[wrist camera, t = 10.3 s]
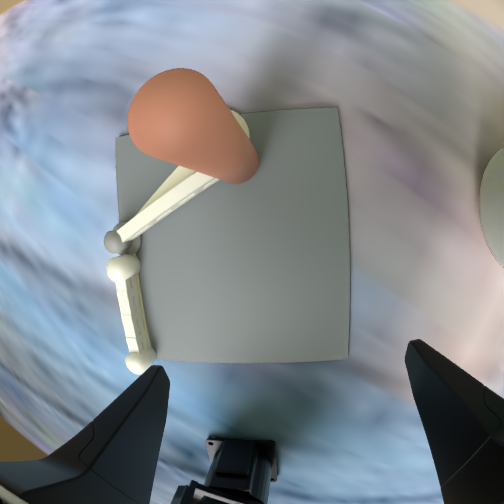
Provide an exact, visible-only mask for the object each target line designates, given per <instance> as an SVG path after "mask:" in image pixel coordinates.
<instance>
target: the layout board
mask: <svg viewBox="0 0 504 504" xmlns="http://www.w3.org/2000/svg"><path fill="white" fill-rule="evenodd" d="M230 111H231V112H232V114H233V115H234V117H235V118H236V120H237V121H238V123H239V124H240V126H241V127H242V129H243V130H244V132H245V133H246V135H247V136H248V138H249V140H250V141H251V143H252V144H253V146H254V147H255V149H256V151H257V153H258V156H259V166H258V169H257V171H256V173H255V175H254V176H253V177H252V178H251V179H249V180H248V181H246V182H244V183H240V184H232V183H228V182H225V181H222V180H219V181H217V182H215V183H214V184H212V185H211V186H209V187H208V188H206V189H205V190H203V191H202V192H200V193H199V194H197V195H196V196H194V197H193V198H191V199H190V200H188V201H187V202H186V203H184V204H183V205H181V206H180V207H178V208H177V209H175V210H174V211H173V212H171V213H170V214H168V215H167V216H165V217H164V218H163V219H161V220H160V221H158V222H157V223H156V224H154V225H153V226H151V227H150V228H149V229H147V230H146V231H145V232H143V233H142V234H141V235H139V236H138V237H136V238H135V239H134V240H133V244H132V246H131V247H130V248H129V249H128V250H125V251H121V252H118V254H119V255H124V254H130V255H134V256H137V257H138V259H139V261H140V265H141V267H140V271H139V273H137V274H136V275H135V279H136V285H137V287H138V298H139V304H140V308H141V311H142V320H143V325H144V330H145V332H146V340H147V345H148V346H149V347H152V348H153V349H154V350H155V352H156V359H161V360H174V361H189V362H210V363H294V362H315V361H330V360H343V359H348V343H349V317H350V247H349V221H348V204H347V189H346V177H345V166H344V155H343V146H342V138H341V129H340V122H339V114H338V108H306V109H288V110H275V111H263V112H253V113H244V114H238V113H237V112H235V111H233V110H230ZM196 172H197V171H194V170H191V169H188V168H185V167H182V166H179V165H176V164H173V163H170V162H167V161H164V160H161V159H157V158H154V157H151V156H149V155H146V154H145V153H143V152H142V151H140V150H139V149H138V148H137V147H136V146H135V144H134V143H133V141H132V139H131V137H130V135H125V136H121V137H118V138H116V179H117V197H118V211H119V224H117V225H116V226H115V227H114V229H113V230H119V229H120V228H121V227H122V226H124V225H125V224H126V223H127V222H129V221H130V220H131V219H133V218H134V217H135V216H136V215H138V214H139V213H140V212H142V211H143V210H144V209H146V208H147V207H148V206H150V205H151V204H152V203H154V202H155V201H156V200H158V199H159V198H160V197H162V196H163V195H165V194H166V193H167V192H169V191H170V190H171V189H173V188H174V187H176V186H177V185H179V184H180V183H181V182H183V181H184V180H186V179H187V178H189V177H190V176H191V175H193V174H194V173H196Z"/></svg>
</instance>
